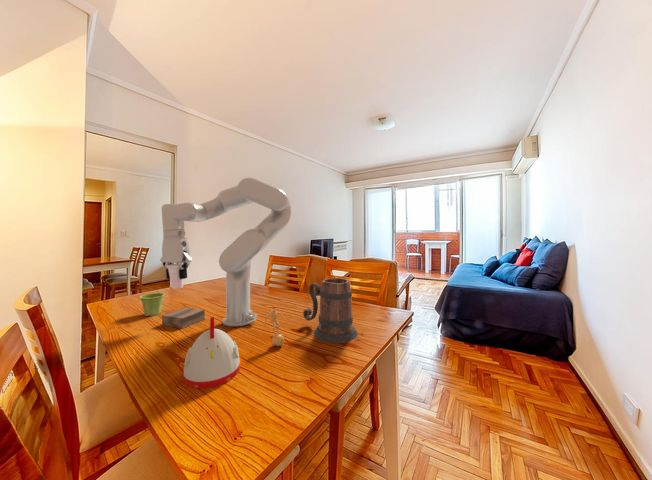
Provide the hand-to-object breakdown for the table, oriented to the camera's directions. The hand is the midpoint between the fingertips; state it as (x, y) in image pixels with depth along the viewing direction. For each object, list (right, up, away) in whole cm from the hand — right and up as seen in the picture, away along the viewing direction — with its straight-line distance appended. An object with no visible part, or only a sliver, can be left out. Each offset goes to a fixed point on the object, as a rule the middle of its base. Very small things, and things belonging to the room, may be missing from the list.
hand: (176, 278), depth 103 cm
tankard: (+62, -20, -6) cm, 65 cm away
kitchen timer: (+30, -21, -35) cm, 51 cm away
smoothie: (0, -4, 0) cm, 4 cm away
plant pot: (-18, -19, +12) cm, 29 cm away
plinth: (+2, -19, +2) cm, 19 cm away
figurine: (+44, -20, -18) cm, 52 cm away
